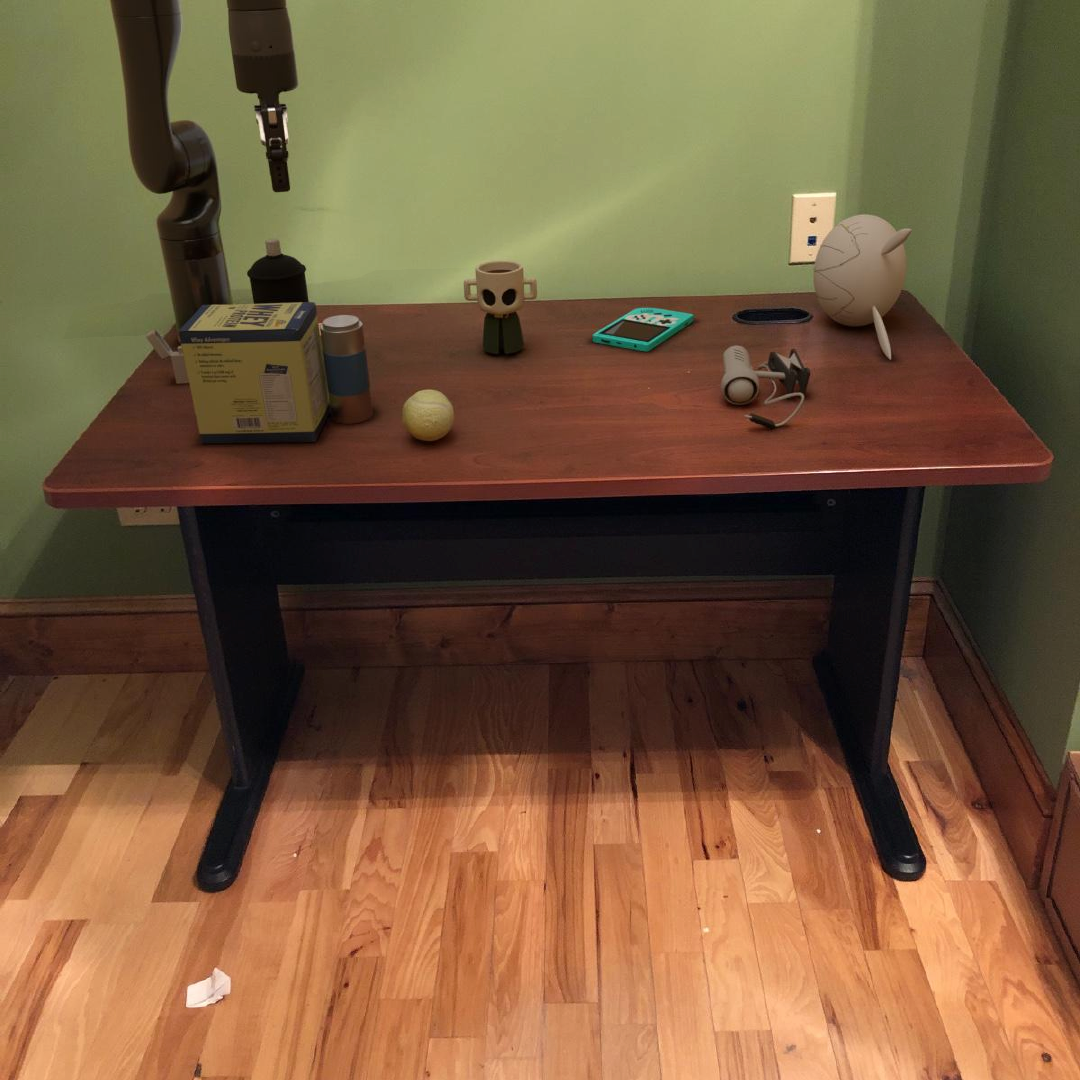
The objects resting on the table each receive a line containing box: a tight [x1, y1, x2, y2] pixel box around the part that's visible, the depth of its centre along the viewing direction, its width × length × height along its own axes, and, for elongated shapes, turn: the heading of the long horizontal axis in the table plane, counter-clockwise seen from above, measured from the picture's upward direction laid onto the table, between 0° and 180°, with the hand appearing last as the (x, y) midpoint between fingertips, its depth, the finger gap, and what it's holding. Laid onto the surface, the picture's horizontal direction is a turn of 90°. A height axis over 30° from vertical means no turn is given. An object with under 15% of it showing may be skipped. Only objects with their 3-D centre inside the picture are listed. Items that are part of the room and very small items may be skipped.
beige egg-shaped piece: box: [813, 214, 913, 361], centre depth 173 cm, size 19×14×25 cm
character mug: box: [463, 259, 538, 355], centre depth 172 cm, size 11×7×13 cm, turn 87°
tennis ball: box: [401, 389, 455, 442], centre depth 146 cm, size 6×7×7 cm
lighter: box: [145, 328, 189, 385], centre depth 166 cm, size 7×2×8 cm, turn 94°
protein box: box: [177, 301, 331, 445], centre depth 149 cm, size 10×16×16 cm
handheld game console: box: [592, 307, 694, 353], centre depth 180 cm, size 10×16×1 cm, turn 148°
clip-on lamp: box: [720, 344, 811, 430], centre depth 152 cm, size 12×6×18 cm
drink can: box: [319, 314, 374, 425], centre depth 152 cm, size 6×6×13 cm
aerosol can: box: [246, 238, 310, 304], centre depth 164 cm, size 8×8×20 cm
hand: (280, 184), depth 148 cm, fingers open, 8 cm apart
